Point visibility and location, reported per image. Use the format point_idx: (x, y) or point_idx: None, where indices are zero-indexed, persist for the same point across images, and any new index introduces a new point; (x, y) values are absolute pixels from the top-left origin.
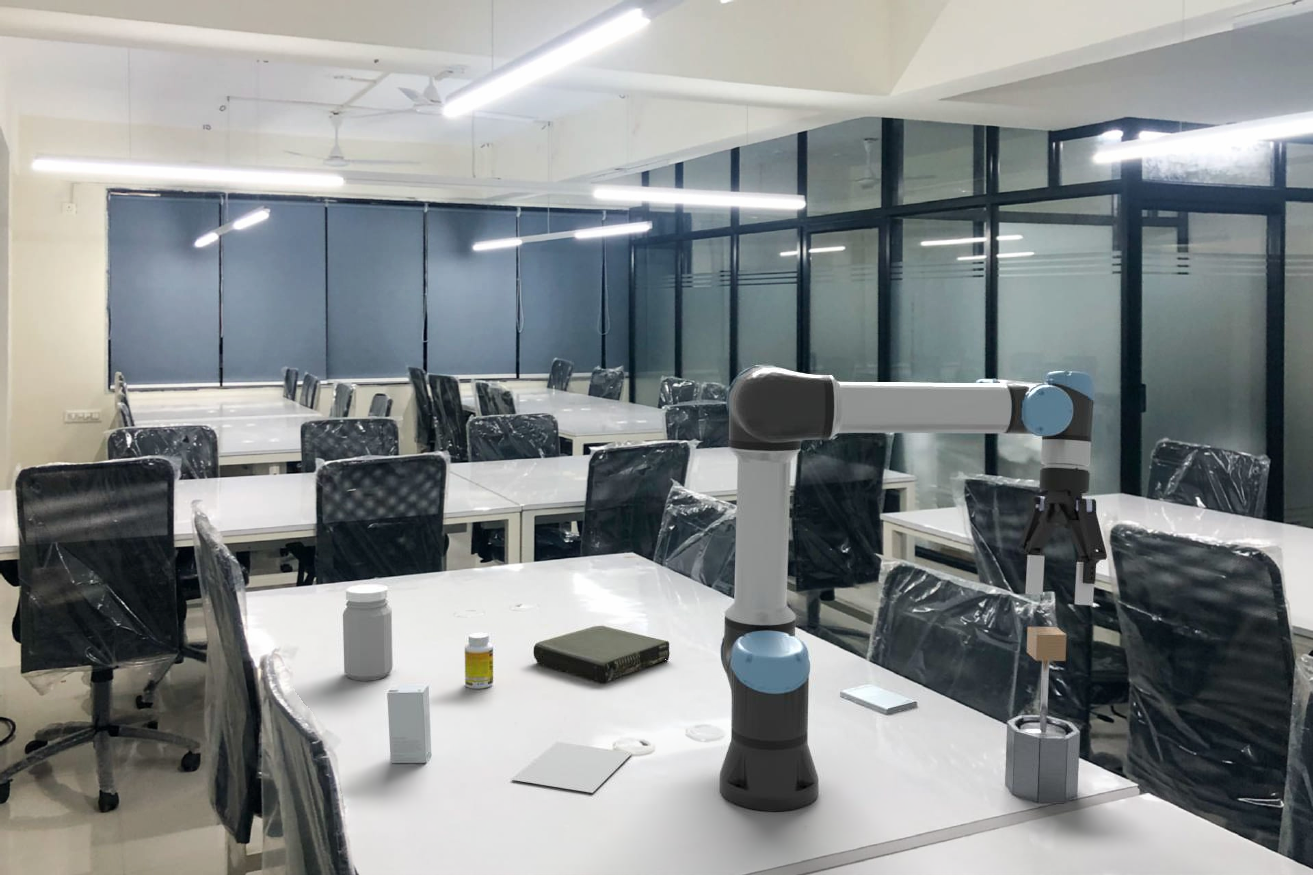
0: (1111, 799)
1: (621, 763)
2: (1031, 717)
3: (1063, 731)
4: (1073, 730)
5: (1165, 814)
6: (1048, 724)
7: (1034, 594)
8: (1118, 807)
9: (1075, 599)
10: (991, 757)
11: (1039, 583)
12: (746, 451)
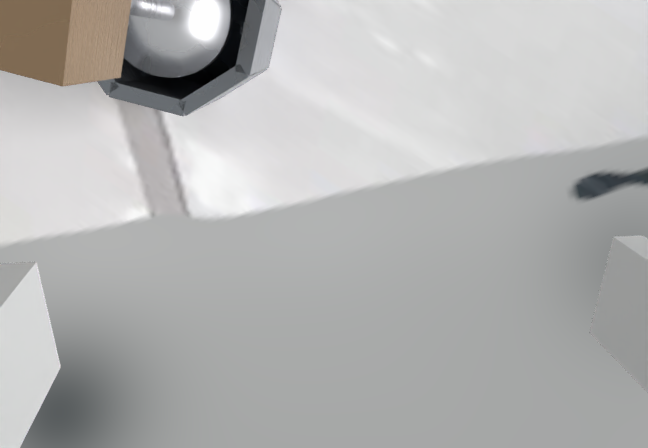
0: (135, 143)
1: None
2: (245, 22)
3: (147, 66)
4: (121, 83)
5: (58, 202)
6: (208, 57)
7: (603, 282)
8: (96, 133)
9: (12, 278)
10: (400, 8)
11: (643, 357)
12: None
